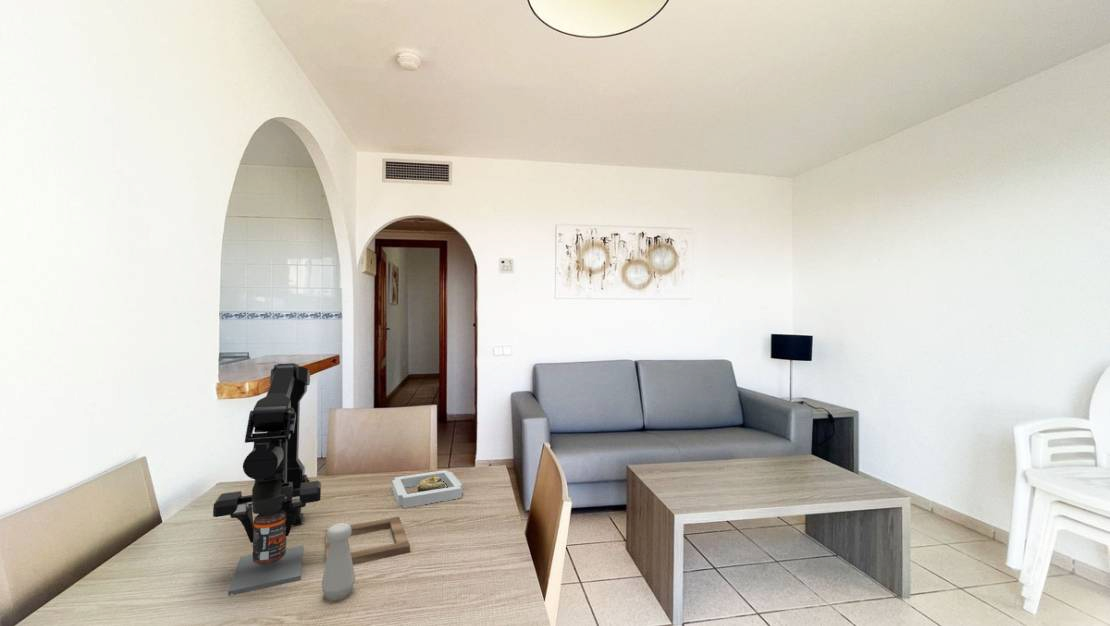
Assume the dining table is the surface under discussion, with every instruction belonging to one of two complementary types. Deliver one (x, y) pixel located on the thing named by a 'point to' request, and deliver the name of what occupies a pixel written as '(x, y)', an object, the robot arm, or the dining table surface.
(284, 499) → the robot arm
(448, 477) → the grey bread rim
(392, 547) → the frame
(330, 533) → the salt shaker
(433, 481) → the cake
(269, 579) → the grey flat slab
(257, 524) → the supplement bottle
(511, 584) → the dining table surface
